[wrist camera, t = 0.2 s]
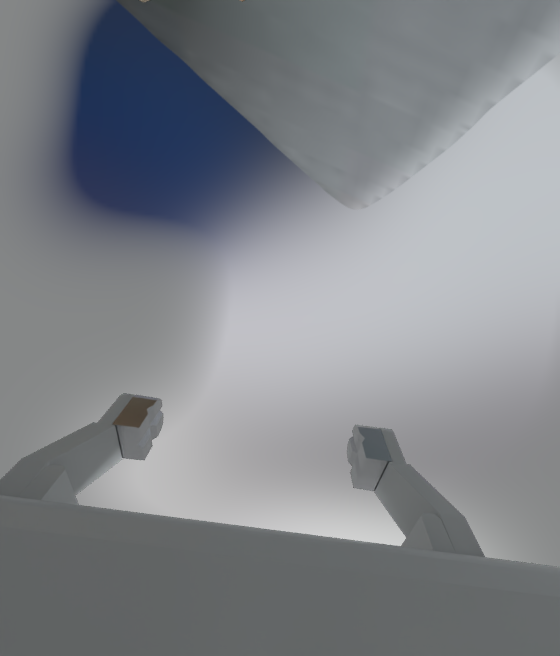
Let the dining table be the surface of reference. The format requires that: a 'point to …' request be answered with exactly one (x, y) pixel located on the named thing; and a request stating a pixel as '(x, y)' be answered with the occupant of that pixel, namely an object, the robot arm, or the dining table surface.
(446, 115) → the dining table surface
